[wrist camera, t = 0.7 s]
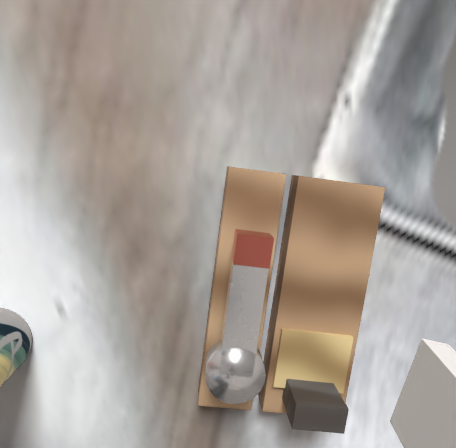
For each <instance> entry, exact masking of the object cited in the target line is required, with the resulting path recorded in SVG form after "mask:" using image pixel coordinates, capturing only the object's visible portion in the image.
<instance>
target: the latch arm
mask: <svg viewBox="0 0 456 448" xmlns="http://www.w3.org/2000/svg"><path fill="white" fill-rule="evenodd" d="M273 243H274V237H273V236H272V235H271V234H270V233H264V232H256V231H248V230H240V229H235V234H234V241H233V249H232V256H231V259H232V261H231V269H230V276H229V283H228V291H227V298H226V306H225V313H224V320H223V328H222V335H221V340H219V341H217V342H216V343H215V344H214V345H213V346H212V347H211V348H210V350H209V352H208V354H207V357H206V384H207V386H208V389H209V390H210V392H211V393H212V394H213V395H214V396H215V397H216V398H217V399H219V400H220V401H223V402H225V403H230V404H240V403H244V402H247V401H249V400H251V399H252V398H254V397H255V396H256V395H257V394H258V393H259V392H260V391H261V389H262V387H263V385H264V382H265V376H266V375H265V368H264V364H263V361H262V357H261V354H260V351H259V349H258V348H257V344H258V337H259V331H260V324H261V317H262V311H263V304H264V297H265V291H266V284H267V277H268V270H269V269H270V263H271V256H272V249H273Z"/></svg>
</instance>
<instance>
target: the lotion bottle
mask: <svg viewBox="0 0 456 448" xmlns="http://www.w3.org/2000/svg"><path fill="white" fill-rule="evenodd" d="M31 346H32V334H31V331H30V328H29V326H28V324H27V323H26V322H25V320H24V319H23V318H22V317H21V316H19V315H18V314H16V313H15V312H13V311H11V310H8V309H3V308H0V386H1V385H2V384H3V383H4V382H5V381H6V380H7V379H8V378H9V377H10V376H11V375H12V374H13V373H14V371H15V370H16V369H17V368H18V367H19V366H20V365H21V364H22V362H23V361H24V360H25V359H26V357H27V356H28V354H29V352H30V349H31Z"/></svg>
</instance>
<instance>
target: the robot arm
mask: <svg viewBox="0 0 456 448" xmlns="http://www.w3.org/2000/svg"><path fill="white" fill-rule="evenodd" d="M390 422H391V424H392V426H393V428H394V430H395V432H396V434H397V435H398V437H399V439H400V441H401V443H402V445H403V447H404V448H456V352H455V351H454V350H453V349H452V348H451V347H450V345H449V344H445V343H440V342H436V341H431V340H426V339H421V342H420V345H419V347H418V350H417V352H416V355H415V358H414V360H413V363H412V365H411V368H410V370H409V373H408V376H407V378H406V381H405V383H404V386H403V389H402V391H401V394H400V396H399V399H398V401H397V404H396V407H395V409H394V412H393V414H392V417H391V420H390Z"/></svg>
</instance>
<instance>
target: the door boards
mask: <svg viewBox="0 0 456 448" xmlns="http://www.w3.org/2000/svg"><path fill="white" fill-rule="evenodd" d="M285 180H286V174H280V173H273V172H265V171H258V170H250V169H243V168H235V167H227V174H226V181H225V189H224V197H223V205H222V212H221V220H220V228H219V235H218V243H217V251H216V258H215V266H214V274H213V282H212V289H211V297H210V305H209V312H208V320H207V328H206V335H205V343H204V351H203V359H202V366H201V374H200V382H199V390H198V405H199V406H210V407H221V408H232V409H243V410H251V406H252V399H253V398H252V399H251V400H249V401H247V402H244V403H240V404H230V403H225V402H223V401H220V400H219V399H217V398H216V397H215V396H214V395H213V394H212V393H211V392H210V390H209V389H208V386H207V384H206V357H207V354H208V352H209V350H210V348H211V347H212V346H213V345H214V344H215V343H216V342H217V341H219V340H221V335H222V328H223V320H224V313H225V306H226V298H227V291H228V283H229V276H230V269H231V261H232V259H231V256H232V249H233V241H234V234H235V229H240V230H248V231H256V232H264V233H270V234H271V235H272V236H273V237H274V243H273V249H272V256H271V263H270V269H269V270H268V277H267V284H266V291H265V297H264V304H263V311H262V317H261V324H260V331H259V337H258V344H257V348H258V349H259V351H260V346H261V339H262V333H263V326H264V319H265V313H266V306H267V299H268V293H269V286H270V279H271V273H272V266H273V259H274V253H275V246H276V240H277V233H278V226H279V220H280V213H281V206H282V200H283V193H284V186H285ZM384 191H385V187H378V186H371V185H363V184H356V183H348V182H341V181H333V180H326V179H318V178H310V177H303V176H295V175H292V179H291V186H290V192H289V199H288V205H287V212H286V218H285V225H284V232H283V238H282V245H281V251H280V258H279V264H278V271H277V277H276V284H275V291H274V297H273V304H272V310H271V317H270V323H269V330H268V337H267V343H266V350H265V356H264V363H263V364H264V368H265V375H266V376H265V382H264V385H263V387H262V389H261V391H260V392H259V398H260V403H261V407H262V411H266V412H277V413H287V415H288V418H289V421H290V424H291V427H292V429H299V430H311V431H322V432H334V433H344V431H345V425H346V420H347V415H348V407H347V406H346V404H345V402H346V396H347V391H348V386H349V380H350V375H351V369H352V364H353V359H354V353H355V348H356V342H357V337H358V332H359V326H360V321H361V315H362V310H363V304H364V299H365V294H366V288H367V283H368V277H369V272H370V267H371V261H372V256H373V250H374V245H375V240H376V234H377V229H378V223H379V218H380V213H381V207H382V202H383V196H384Z"/></svg>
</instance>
